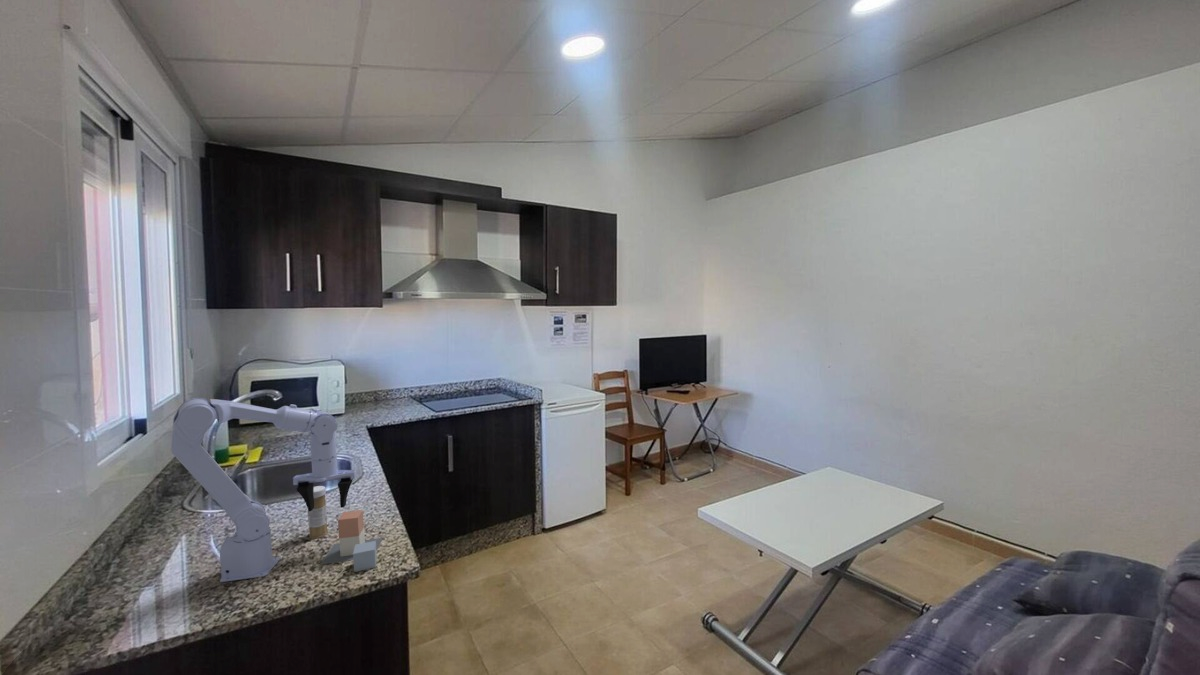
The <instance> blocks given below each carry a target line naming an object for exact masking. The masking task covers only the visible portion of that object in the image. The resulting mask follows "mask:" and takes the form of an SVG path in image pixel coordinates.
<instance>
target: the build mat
mask: <svg viewBox="0 0 1200 675" xmlns="http://www.w3.org/2000/svg"><path fill="white" fill-rule="evenodd" d="M382 540H383V537H380V538H371V539H365V543H367V542H372V541H376V552H378V548H379V546H380V544H381V543H382V542H383V541H382ZM350 561H353V555H348V556H340V542H339V543H334V544H333V545H332V546H331V548H330V550H329V551H328V552H327V554H326V555H325V557H324V558H323V560H322V562H321V563H320V565H321V566H322V565H327V564H335V563H343V562H350Z"/></svg>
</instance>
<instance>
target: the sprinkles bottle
mask: <svg viewBox="0 0 1200 675" xmlns="http://www.w3.org/2000/svg"><path fill="white" fill-rule="evenodd" d="M326 492H327V490H326V487H325V486H324V485H317V486H314V491H313V495H314V508H313V510H312V511H308V510H307V515H308V516H307V517H308V518H307V520H308V528H309V534H308V535H309V539H319V538H323V537H325V536H327V534H328V533H329V531H328V515H327V514H328V513H327V511H328V510H327V503H326V494H327V493H326Z"/></svg>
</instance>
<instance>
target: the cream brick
mask: <svg viewBox="0 0 1200 675" xmlns="http://www.w3.org/2000/svg"><path fill="white" fill-rule="evenodd" d="M338 539H339V543H340V556H348V555H353V552H354V548H355V545H357V544H362V543H365V540H366V535H365V527H364V528H363V530H362V532H361V533H360V535H359V536H355V537H347V538H339V537H338Z"/></svg>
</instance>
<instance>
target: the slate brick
mask: <svg viewBox="0 0 1200 675" xmlns="http://www.w3.org/2000/svg"><path fill="white" fill-rule="evenodd" d="M377 552H378V551H376V541H372V542H367V543H362V544H357V545H355V548H354V552H353V560H352V561H353V572H359V571H364V570H370V569H374V568H377V559H378V557H377V556H378V555H377Z"/></svg>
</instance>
